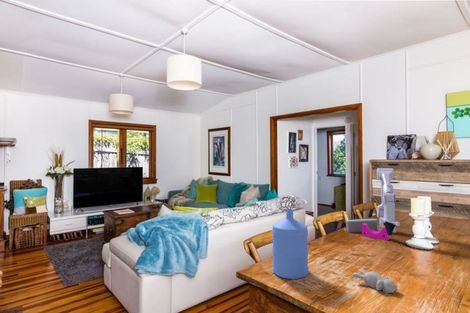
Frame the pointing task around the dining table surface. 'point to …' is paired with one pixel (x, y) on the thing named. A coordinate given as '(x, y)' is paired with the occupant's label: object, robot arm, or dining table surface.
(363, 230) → the toy block
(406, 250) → the dining table surface
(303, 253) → the water jug
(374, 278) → the bunny figurine
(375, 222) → the backstop wall
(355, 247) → the dining table surface
